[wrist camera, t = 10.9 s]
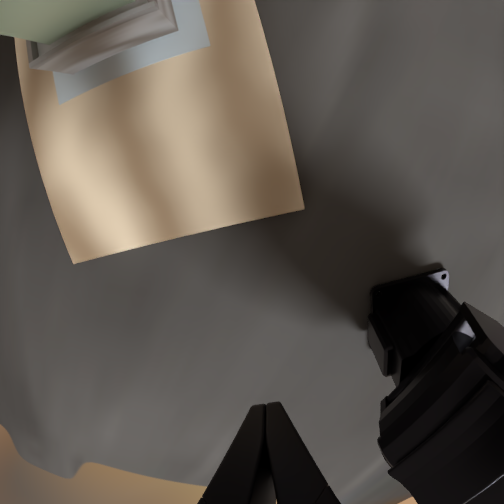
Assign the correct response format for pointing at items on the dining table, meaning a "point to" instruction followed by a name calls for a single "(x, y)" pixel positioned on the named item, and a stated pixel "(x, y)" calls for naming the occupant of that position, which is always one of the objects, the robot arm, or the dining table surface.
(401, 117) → the dining table surface
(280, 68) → the dining table surface
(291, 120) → the dining table surface
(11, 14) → the sage block
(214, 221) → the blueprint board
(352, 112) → the dining table surface
